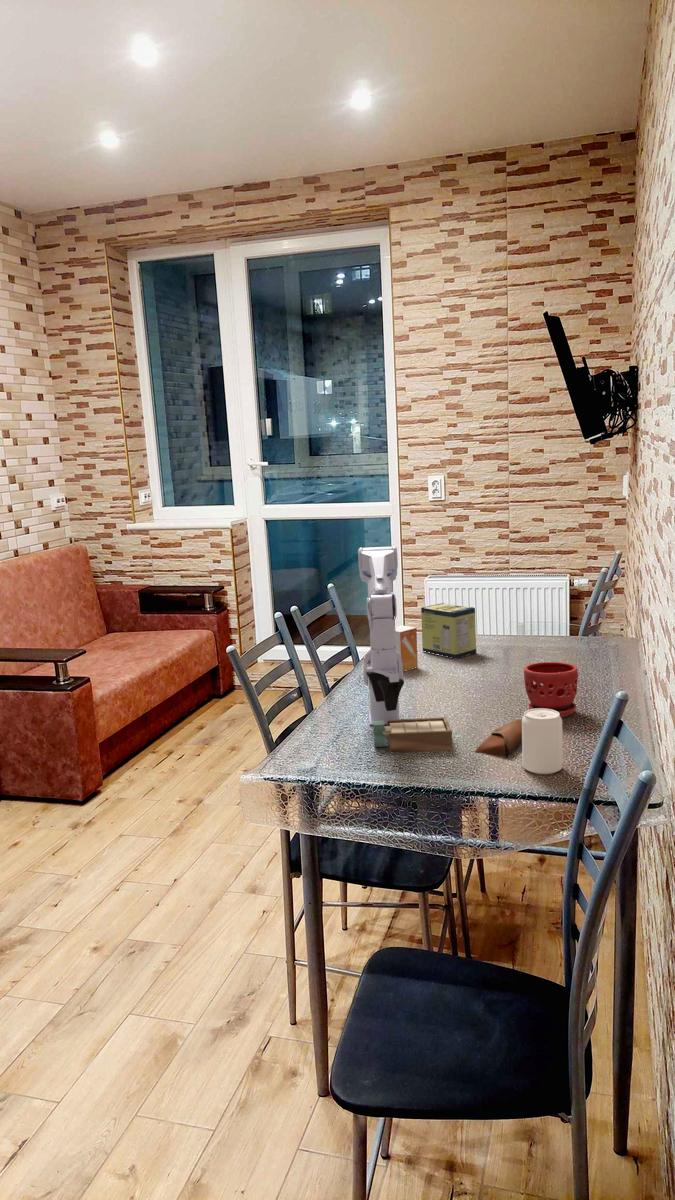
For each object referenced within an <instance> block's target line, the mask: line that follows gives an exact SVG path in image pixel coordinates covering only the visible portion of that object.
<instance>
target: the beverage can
mask: <svg viewBox="0 0 675 1200" xmlns="http://www.w3.org/2000/svg"><path fill="white" fill-rule="evenodd" d="M521 719H522V742H521V749H522V750H521V755H522V759H521V761H522V762H521V763H522V768H524V770H525V771H528V772H530V773H533V774H538V775H550V774H554V773H556V772H557V773H558V772H559V771H561V770H562V768H563V718H562V717H560V713H559V712H557V711H555V710H552V709H546V708H535V709H530V710H529V709H527V710H525V711H524V713H523V716H522V717H521Z"/></svg>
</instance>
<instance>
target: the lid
mask: <svg viewBox="0 0 675 1200" xmlns="http://www.w3.org/2000/svg"><path fill="white" fill-rule="evenodd" d="M372 726H373V741H374V742H373V744H374V748H375V747H376V748H378V747H386V739H385V738H386V735H388V734H389V733H402V732H423V731H444V730H446V729H445V726H444V724H443V721H425V722H417V721H415V722H403V723H390V726H385V725H384V721H373V725H372Z"/></svg>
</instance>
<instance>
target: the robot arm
mask: <svg viewBox="0 0 675 1200" xmlns="http://www.w3.org/2000/svg"><path fill="white" fill-rule="evenodd" d="M357 555H358V556H357V557H358V572H359V578H360V581H361V582H363V583H365V584H367V595H368V596H367V597H366V611H367V612H366V613H367V619H368V626H369V640H370V641H369V642H370V643H369V644H370V649H369V650H368V651H367V652H366V653H365V654H364V655H363V662H362V663H363V666H362V667H363V669H362V670H363V683H364V685H365V686H368V689H369V690H368V691H369V706H370V707H369V709H370V711H369V712H368V721H369V725H370V726H373V721H384V726H385V725H387V720H398V719H402V717H401V712H400V705H399V704H400V703H399V696H400V694H401V693H400V692H401V690H402V688H403V686H404V684H405V680H404V672H403V667H402V660H401V655H400V653H399V652H398V651H396V633H395V627H396V619H397V615H398V612H397V611H398V610H397V606H398V605H397V597H396V594H395V592H394V589H393V588H394V587H393V581H396V580H397V576H398V568H399V562H398V560H399V558H398V548H397V546H395V545H392V546H376V547H375V546H374V547H359V548H358V549H357Z"/></svg>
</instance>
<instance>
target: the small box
mask: <svg viewBox="0 0 675 1200" xmlns="http://www.w3.org/2000/svg"><path fill="white" fill-rule="evenodd" d="M417 629H418V628H417V627H416V626H415V627H414V626H409V625H403V624H402V625H399V626H395V633H396V651H398V652H399V653H400V655H401V660H402V667H403V671H405V670H408V671H410V670H409V669H411V670H413V669H412V668H414V669H416V668H415V667H417V668H418V666H419V665H418V636H417V635H418V632H417ZM405 672H406V671H405Z"/></svg>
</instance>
